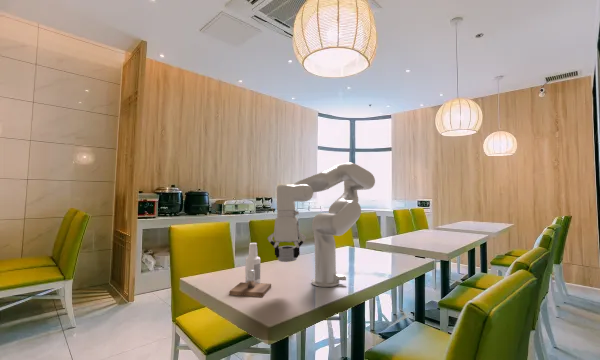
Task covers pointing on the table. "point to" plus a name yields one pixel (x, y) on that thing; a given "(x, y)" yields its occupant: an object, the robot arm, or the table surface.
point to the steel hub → (286, 253)
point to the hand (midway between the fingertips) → (287, 256)
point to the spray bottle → (253, 263)
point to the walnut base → (250, 289)
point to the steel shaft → (251, 278)
